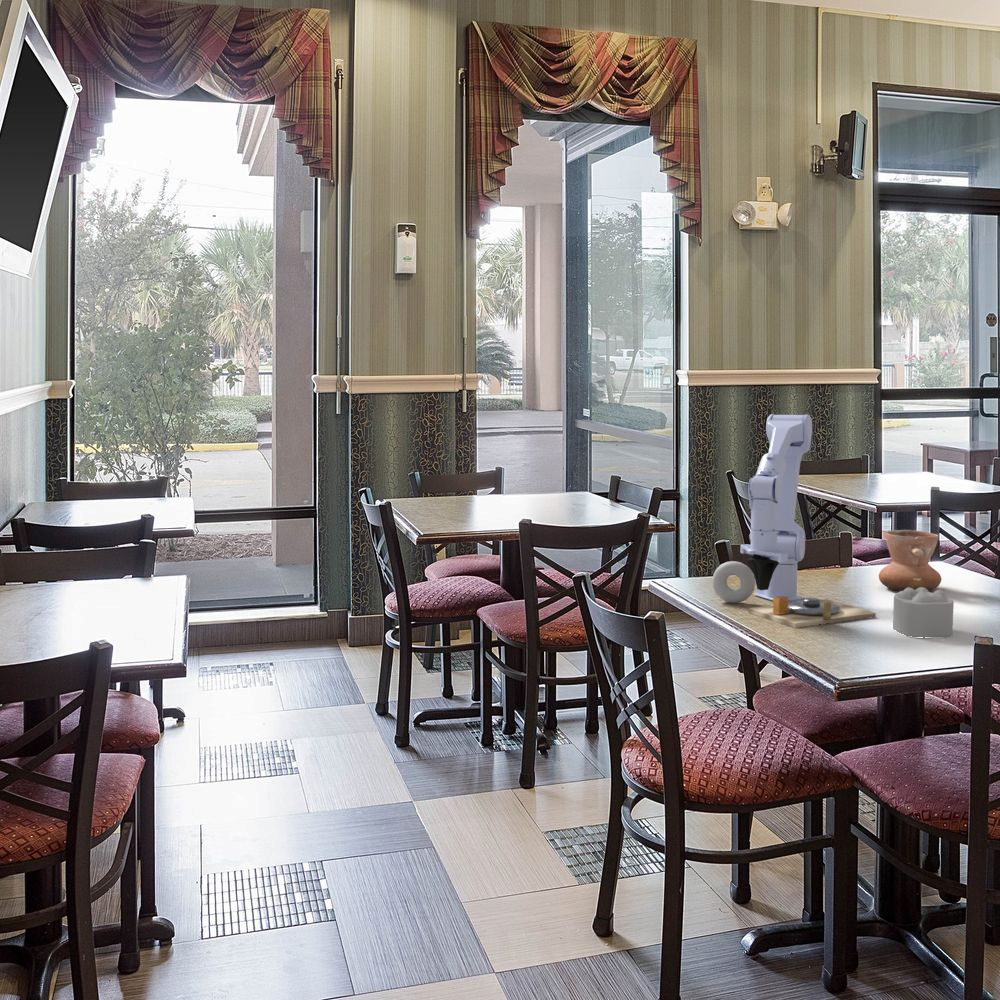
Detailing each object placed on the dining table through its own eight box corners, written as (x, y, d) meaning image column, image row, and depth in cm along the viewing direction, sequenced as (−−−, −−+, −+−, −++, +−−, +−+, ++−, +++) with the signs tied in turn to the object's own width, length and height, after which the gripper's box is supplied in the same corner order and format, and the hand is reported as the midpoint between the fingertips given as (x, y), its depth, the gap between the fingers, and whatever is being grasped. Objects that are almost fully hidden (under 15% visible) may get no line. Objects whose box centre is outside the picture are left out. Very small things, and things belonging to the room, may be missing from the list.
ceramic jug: (948, 597, 255) (951, 538, 254) (884, 595, 258) (887, 536, 256) (931, 584, 273) (934, 528, 272) (872, 582, 276) (874, 527, 274)
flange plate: (759, 608, 240) (759, 592, 240) (815, 601, 247) (815, 586, 246) (793, 619, 229) (794, 602, 229) (851, 612, 236) (851, 595, 235)
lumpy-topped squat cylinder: (908, 639, 217) (910, 597, 216) (882, 624, 230) (884, 584, 229) (958, 637, 218) (960, 596, 217) (930, 622, 231) (931, 583, 230)
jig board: (748, 612, 242) (749, 591, 241) (826, 603, 251) (826, 583, 250) (797, 628, 226) (797, 606, 226) (878, 618, 235) (879, 596, 235)
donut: (755, 602, 252) (756, 560, 251) (753, 605, 249) (754, 563, 248) (713, 600, 256) (713, 558, 254) (710, 603, 252) (711, 561, 251)
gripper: (729, 526, 244) (728, 585, 246) (769, 535, 231) (768, 597, 232) (755, 524, 247) (754, 582, 248) (796, 532, 234) (794, 594, 235)
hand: (762, 589), depth 241 cm, fingers closed
